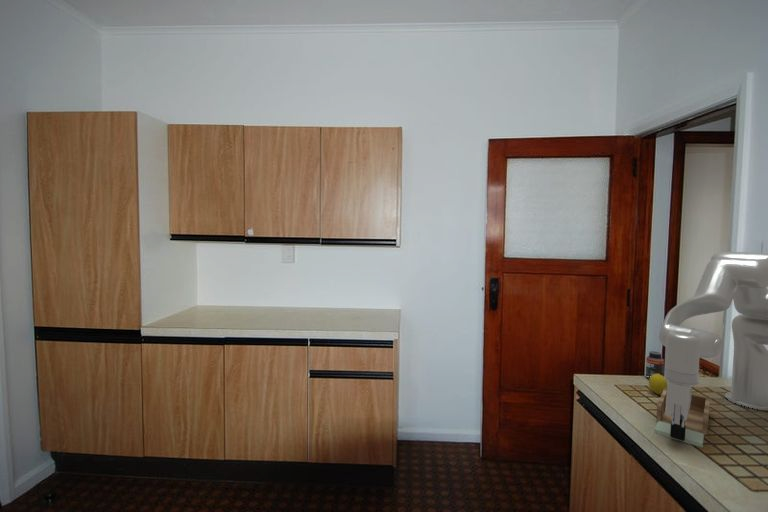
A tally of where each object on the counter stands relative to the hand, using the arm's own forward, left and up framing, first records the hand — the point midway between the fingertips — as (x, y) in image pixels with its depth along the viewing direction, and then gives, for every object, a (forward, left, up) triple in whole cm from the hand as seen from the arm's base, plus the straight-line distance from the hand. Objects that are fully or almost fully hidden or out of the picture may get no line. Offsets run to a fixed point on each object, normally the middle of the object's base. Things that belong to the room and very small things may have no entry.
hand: (677, 437), depth 104 cm
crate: (-15, -11, -2) cm, 19 cm away
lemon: (-24, -28, -2) cm, 37 cm away
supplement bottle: (-36, -40, -2) cm, 54 cm away
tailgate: (-7, -5, -1) cm, 9 cm away
